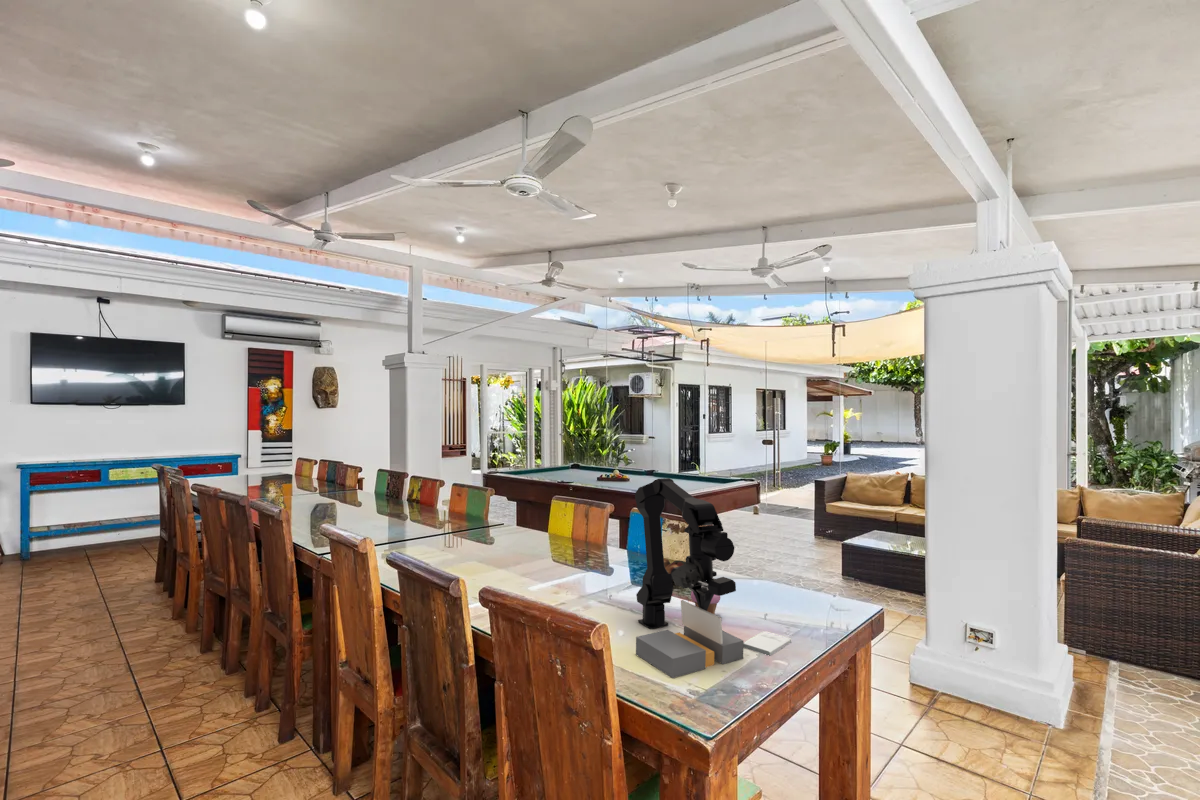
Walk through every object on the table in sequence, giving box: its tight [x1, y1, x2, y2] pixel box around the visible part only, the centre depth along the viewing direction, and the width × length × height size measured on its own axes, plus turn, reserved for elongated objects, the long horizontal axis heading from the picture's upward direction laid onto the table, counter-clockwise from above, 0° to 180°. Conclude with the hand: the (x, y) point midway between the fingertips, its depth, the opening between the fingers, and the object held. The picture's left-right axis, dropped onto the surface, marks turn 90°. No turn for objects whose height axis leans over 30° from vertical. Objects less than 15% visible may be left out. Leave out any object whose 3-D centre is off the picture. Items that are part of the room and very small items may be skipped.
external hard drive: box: [743, 630, 792, 657], centre depth 164 cm, size 2×8×12 cm
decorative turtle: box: [664, 558, 686, 583], centre depth 218 cm, size 10×15×8 cm, turn 72°
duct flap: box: [680, 599, 723, 644], centre depth 157 cm, size 15×6×1 cm
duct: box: [635, 625, 745, 679], centre depth 155 cm, size 15×22×4 cm, turn 121°
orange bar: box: [674, 632, 715, 668], centre depth 156 cm, size 14×4×4 cm
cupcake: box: [690, 591, 721, 615], centre depth 183 cm, size 9×9×10 cm
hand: (703, 612), depth 157 cm, fingers closed, pressing on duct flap
